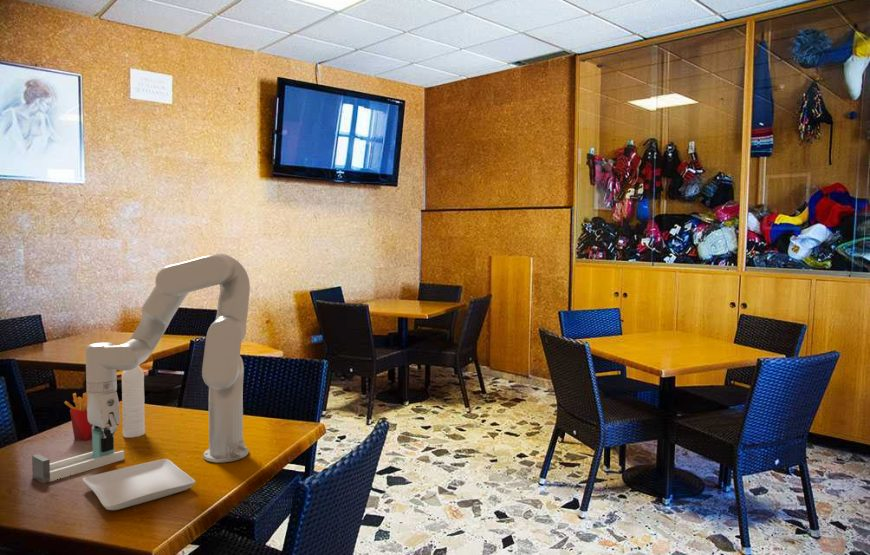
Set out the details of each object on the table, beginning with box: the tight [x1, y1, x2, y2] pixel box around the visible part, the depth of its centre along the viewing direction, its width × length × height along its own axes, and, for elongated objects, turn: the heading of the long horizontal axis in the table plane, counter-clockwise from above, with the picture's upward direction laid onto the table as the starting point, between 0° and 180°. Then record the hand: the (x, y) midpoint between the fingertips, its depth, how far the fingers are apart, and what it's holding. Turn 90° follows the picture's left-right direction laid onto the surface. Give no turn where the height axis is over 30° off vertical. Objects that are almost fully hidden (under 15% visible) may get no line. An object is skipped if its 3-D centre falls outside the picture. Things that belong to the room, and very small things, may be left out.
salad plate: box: [82, 458, 196, 511], centre depth 150 cm, size 21×21×3 cm
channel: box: [31, 449, 125, 485], centre depth 163 cm, size 7×21×6 cm, turn 146°
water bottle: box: [121, 365, 146, 439], centre depth 191 cm, size 9×6×25 cm
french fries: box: [63, 392, 92, 442], centre depth 186 cm, size 9×8×15 cm
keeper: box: [91, 428, 115, 458], centre depth 168 cm, size 4×4×8 cm
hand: (103, 448), depth 168 cm, fingers closed on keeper, 4 cm apart
